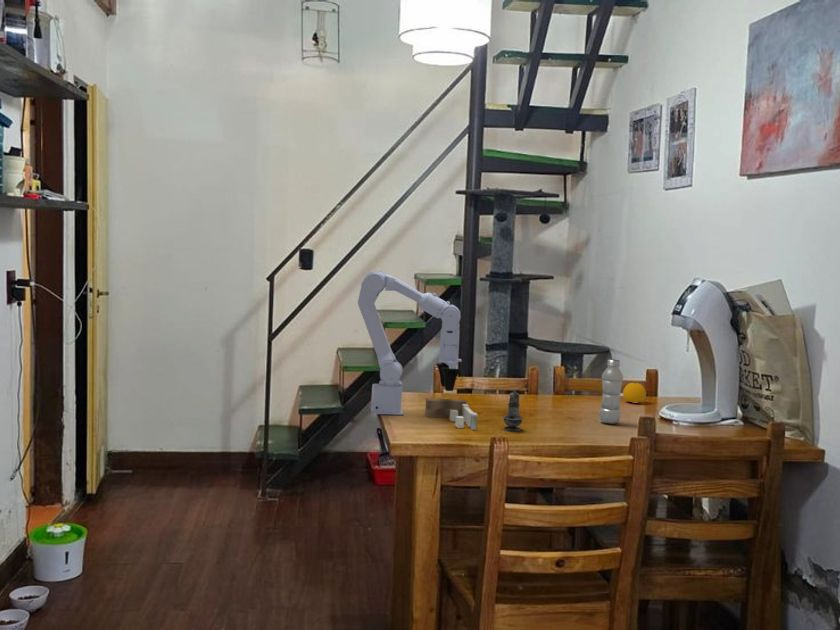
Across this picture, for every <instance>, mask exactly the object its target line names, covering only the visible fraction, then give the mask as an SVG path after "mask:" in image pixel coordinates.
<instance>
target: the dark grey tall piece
mask: <svg viewBox="0 0 840 630" xmlns="http://www.w3.org/2000/svg"><path fill="white" fill-rule="evenodd" d="M519 401H520V394H519V393H518V392H517V390H516V389H515V388H514V389H513V391H512V392H510V393H509V401H508V404H507V405H508V410H507V414H506V415H503V416H502V418H503V421H504V424H505V425H506V426H504V427H503V428H502V429H503V430H504V431H505V432H506V431H507V432H512V433H513V432H515V433H516V432H517V433H518V432H521V431H522V429H521V428H520V427H519V426H521V424H522V422H523V420H524V417H523V416H521V415H520V412H519V408H520V406H521V404H520V402H519Z"/></svg>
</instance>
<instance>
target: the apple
mask: <svg viewBox="0 0 840 630" xmlns="http://www.w3.org/2000/svg"><path fill="white" fill-rule="evenodd" d="M622 395H623V396H622V397H623V399H624V401H626V400H627V401H630V402H642V403H644V401H645V400H646V398H647V391H646V389H645V387H644V386H643V384H641V383H638V382H629V383H627V384H626V385H625V387H624V388H623V392H622ZM627 401H626V402H627Z"/></svg>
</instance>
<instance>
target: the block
mask: <svg viewBox="0 0 840 630" xmlns="http://www.w3.org/2000/svg"><path fill="white" fill-rule="evenodd" d="M462 404H467V401H466V400H465V399H460V398H459V399H458V398H457V399H452V398H425V411H424V412H425V413H424V414H425V416H426V417H427V418H450V410H457V411H458V416H462Z"/></svg>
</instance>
